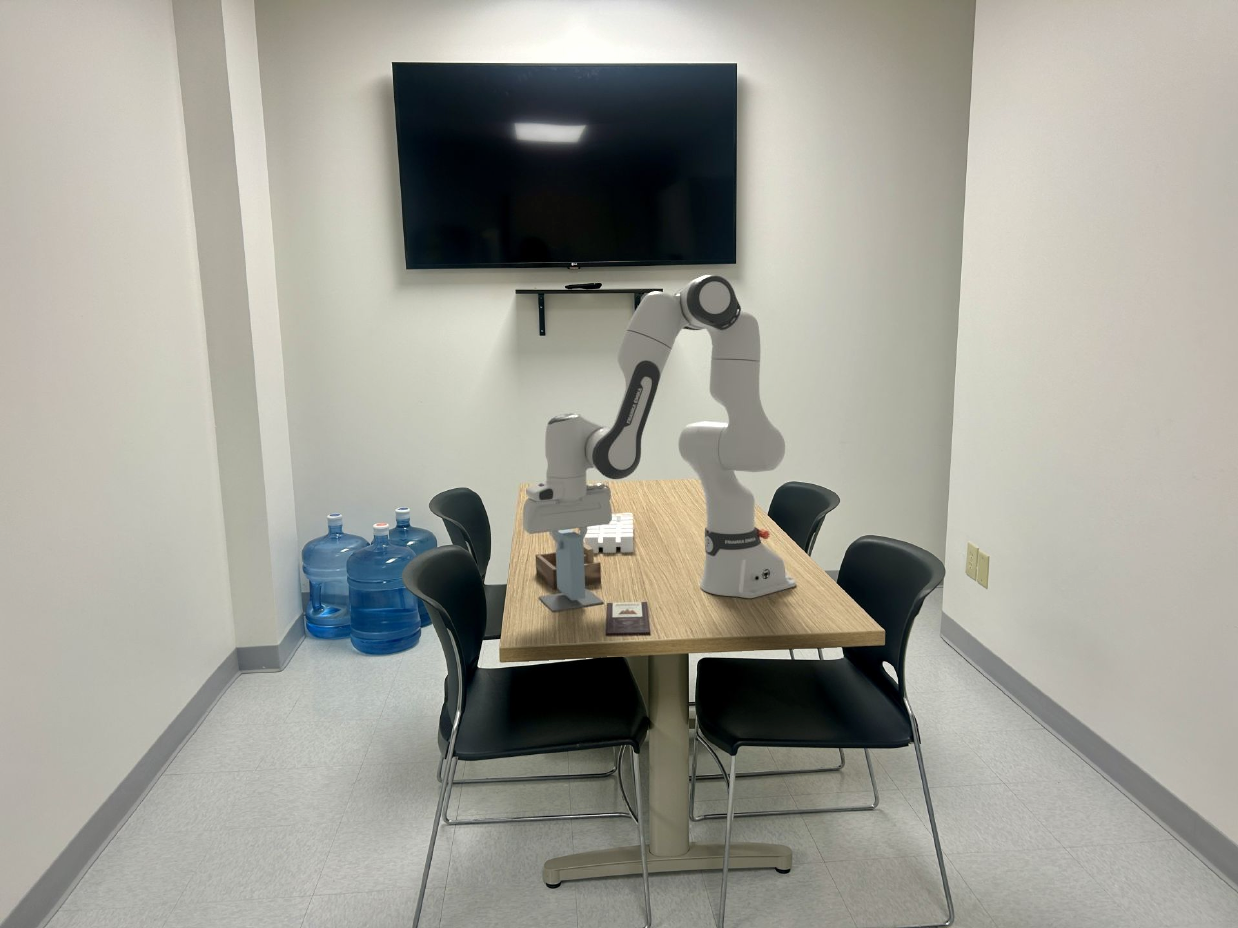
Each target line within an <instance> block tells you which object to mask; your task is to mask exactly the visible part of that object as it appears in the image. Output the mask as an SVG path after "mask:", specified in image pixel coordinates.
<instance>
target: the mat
mask: <svg viewBox="0 0 1238 928" xmlns="http://www.w3.org/2000/svg"><path fill="white" fill-rule="evenodd" d="M538 599H539V600H540V601H541V602H542V603H543V604H544V605H545V606H546V607H547V608H548V609H549V610H550V611H551V612H552V613H554V612H555V613H556V612H562V611H567V610H572V609H579V608H585V607H591V606H596V605H602V604H604V603H605V602H604V601H603V600H602V599H600V597H598V596H597V595H596V594H595V593H593V591H591V590H590V589H589V588H585V598H584V599H578V600H571V599H570V598H568V597H567V596H566V595H565V594H564V593H562V592H561V593H560V592H559V593H555V594H548V595H542V596H538Z"/></svg>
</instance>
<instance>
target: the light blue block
mask: <svg viewBox="0 0 1238 928" xmlns="http://www.w3.org/2000/svg"><path fill="white" fill-rule="evenodd" d="M556 537H557V538H558V540H561V541H563V547H564V548H563V549H560V550H556V549H555V552H556V570H557V588H558V589H557V590H558V591H560V592H561V593H564V594H565V595H566V596H567V597H568V598H570V599H571V600H578V599H584V598H585V589H586V585H585V573H584V548H583V542H584V539H583V536H581V535H579V533H577V532H576V531H574V529H566V530H559V531H558V535H556Z"/></svg>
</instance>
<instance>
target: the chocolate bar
mask: <svg viewBox="0 0 1238 928" xmlns="http://www.w3.org/2000/svg"><path fill="white" fill-rule="evenodd" d="M649 615H650V614H649V607H648V602H647V601H631V602H630V601H629V602H626V601H624V602H606V617H605V636H606V637H612V636H614V637H615V636H618V637H619V636H649V635H651V626H650V616H649Z"/></svg>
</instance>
